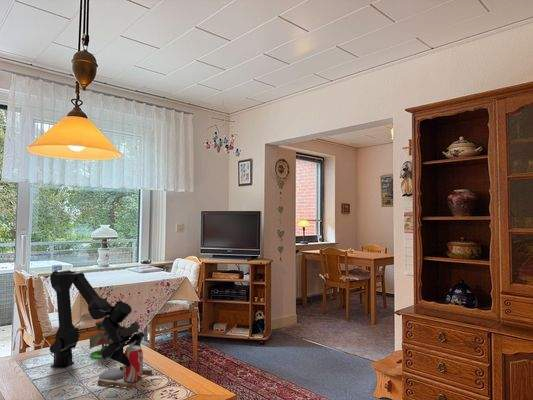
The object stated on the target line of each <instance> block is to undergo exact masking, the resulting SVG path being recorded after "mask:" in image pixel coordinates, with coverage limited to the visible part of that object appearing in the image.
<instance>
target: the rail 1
mask: <svg viewBox="0 0 533 400" xmlns="http://www.w3.org/2000/svg"><path fill="white" fill-rule="evenodd" d="M133 383H134V382H127V381H118V380H114V381H112V380H105V379H99V378H98V380H97V385H99V384H104V385H103V386H106V385H113V386H119V387H118V388H120V387H126V388H125V389H127V388H131V389H133V388H132V387H134V384H133ZM113 386H112V387H113Z"/></svg>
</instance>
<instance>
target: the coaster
mask: <svg viewBox="0 0 533 400" xmlns="http://www.w3.org/2000/svg"><path fill="white" fill-rule="evenodd" d="M122 377H123V370H120V368H119V369H110V370H106V371H103V372H102V373H100V374H99V375H98V380H99V379H105V380H114V381H117V380H116V379H119V380H120V378H121V379H123V378H122Z"/></svg>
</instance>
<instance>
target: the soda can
mask: <svg viewBox="0 0 533 400" xmlns="http://www.w3.org/2000/svg"><path fill="white" fill-rule="evenodd" d="M143 351H144V350H143V349H142V346H138V345H134V346H129V345H128V346H126V348H125V350H124V351H123V352H124V354H125V356H126V357H127V359H128V361H129V363H130V366H129V367H127V366H125V365H124V364H122V366H123V378H122V379H123V380H124V382H126V383H136V382H138V381H139V380H141V379H142V378H143V373H142V371H143V368H144V367H143V366H144V352H143ZM135 381H136V382H135Z"/></svg>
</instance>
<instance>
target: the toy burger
mask: <svg viewBox="0 0 533 400" xmlns="http://www.w3.org/2000/svg"><path fill="white" fill-rule="evenodd" d="M103 319H104V318H101V319H98V320H96V321H95V326H94V327H95V331H100V332H101V333H96V334H92V335H91V336H90V337H89V347H88V349H89V350H91V349H93V348H96V347H98V346H101V347H98V349H97V350H94V351H92V352H91V353H90V358H92V359H98V360H99V359H103V357H102V351H103V350H104V349H105V348H106V347H107V346H108V345H109V344H112V343H113V342H112V341H111V340H108V339H107V338H108V337H109V336H108V335H107V333H106V332H105V330H104V329H103V328H100V329H98V328H97V327H98V324H99V323H98V322H99V321H102V320H103ZM103 331H104V332H103ZM110 357H111V355H110ZM110 357H109V358H110Z"/></svg>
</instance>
